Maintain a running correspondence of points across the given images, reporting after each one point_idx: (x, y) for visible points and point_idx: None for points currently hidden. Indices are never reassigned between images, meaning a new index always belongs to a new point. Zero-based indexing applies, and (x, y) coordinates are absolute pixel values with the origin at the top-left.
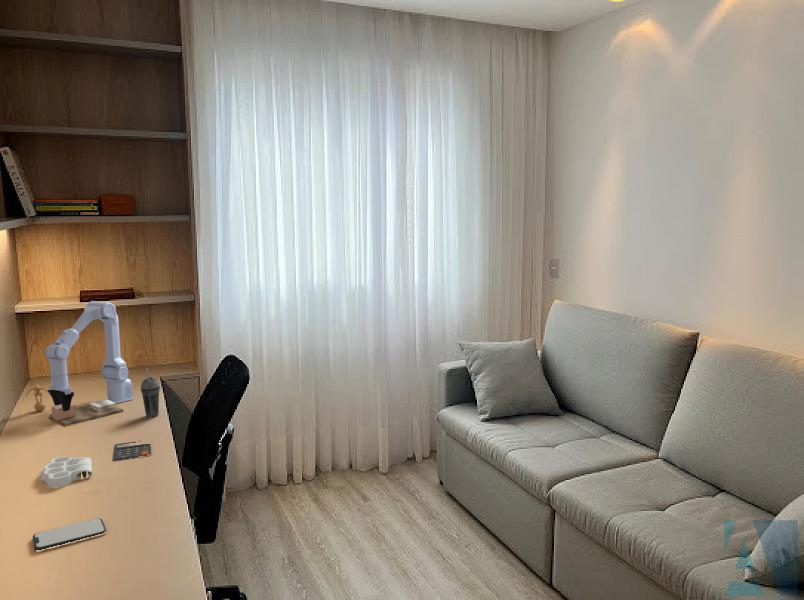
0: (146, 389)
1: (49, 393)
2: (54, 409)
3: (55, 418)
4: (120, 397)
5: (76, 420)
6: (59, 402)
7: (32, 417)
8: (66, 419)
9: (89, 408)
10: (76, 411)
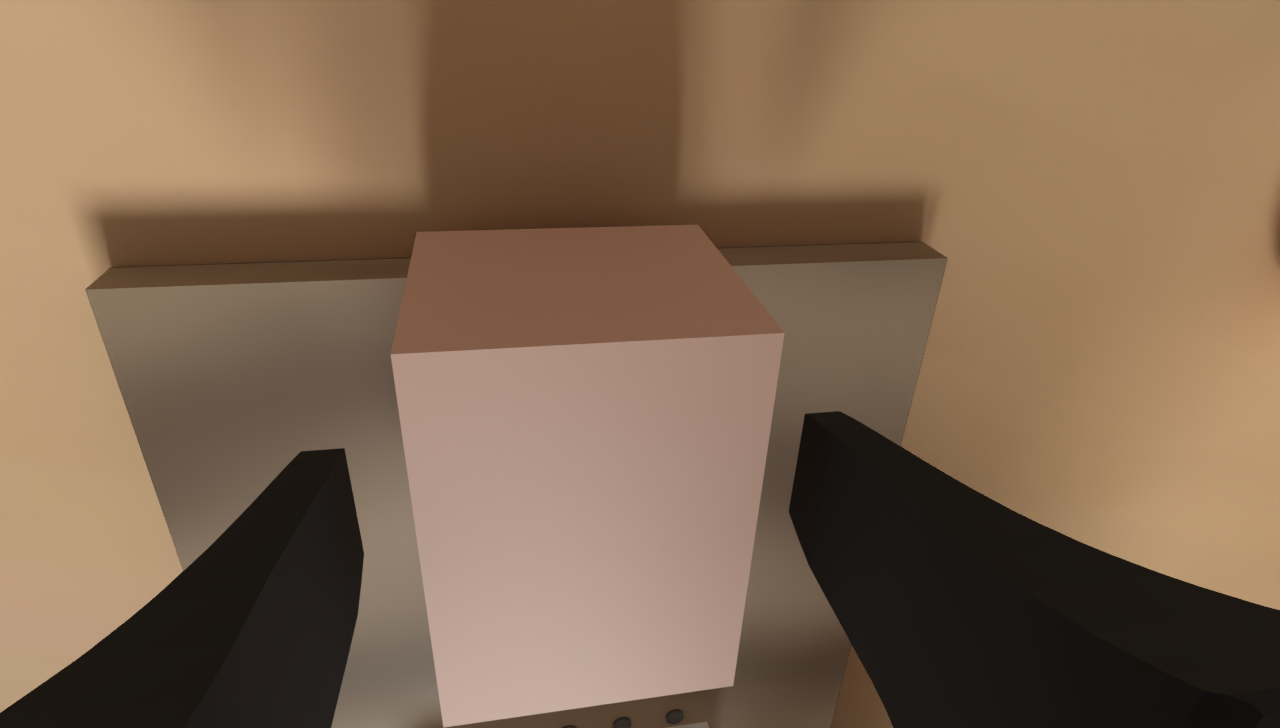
0: None
1: (1241, 602)
2: (568, 323)
3: (535, 233)
4: None
5: (189, 476)
6: (836, 546)
7: (1196, 16)
8: None
9: (681, 715)
10: None
